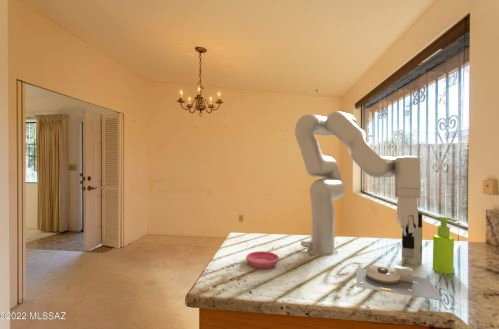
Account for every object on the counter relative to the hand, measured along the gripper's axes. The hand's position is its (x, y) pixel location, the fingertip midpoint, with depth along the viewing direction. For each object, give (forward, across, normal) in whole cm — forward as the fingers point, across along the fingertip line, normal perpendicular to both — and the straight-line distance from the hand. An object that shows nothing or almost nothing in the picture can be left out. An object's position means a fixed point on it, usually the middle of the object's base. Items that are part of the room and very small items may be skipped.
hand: (408, 247), depth 91 cm
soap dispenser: (+11, -10, +12) cm, 19 cm away
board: (+10, +8, -5) cm, 14 cm away
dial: (+9, +6, -7) cm, 12 cm away
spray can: (+11, -16, +4) cm, 19 cm away
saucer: (+10, +6, -49) cm, 51 cm away
